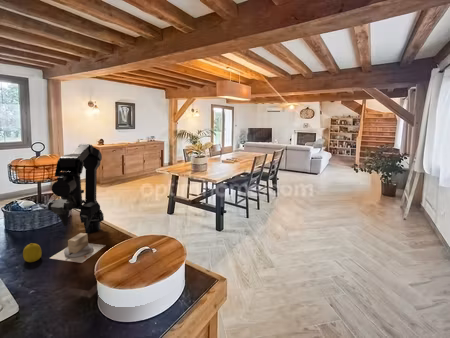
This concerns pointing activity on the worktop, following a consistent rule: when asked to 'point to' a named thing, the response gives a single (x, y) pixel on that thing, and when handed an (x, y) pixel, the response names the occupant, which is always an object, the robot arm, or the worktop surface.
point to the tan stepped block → (78, 246)
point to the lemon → (32, 252)
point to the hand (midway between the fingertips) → (75, 227)
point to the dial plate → (81, 258)
